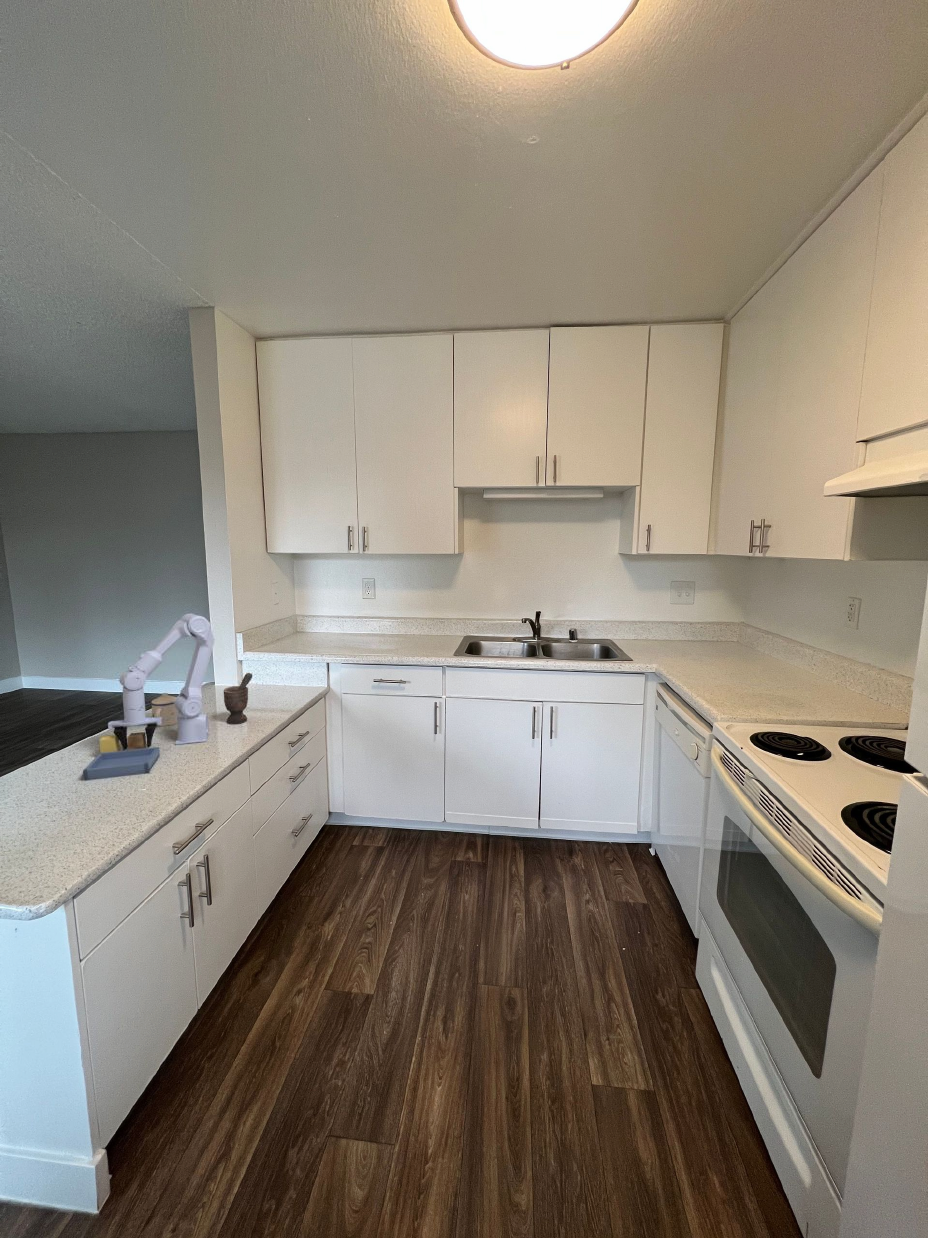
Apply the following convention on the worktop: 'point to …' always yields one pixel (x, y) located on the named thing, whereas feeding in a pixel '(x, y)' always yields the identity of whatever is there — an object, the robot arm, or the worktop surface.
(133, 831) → the worktop surface
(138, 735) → the walnut block
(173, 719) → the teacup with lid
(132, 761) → the slate blue tray
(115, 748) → the mustard block
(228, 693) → the mortar and pestle
